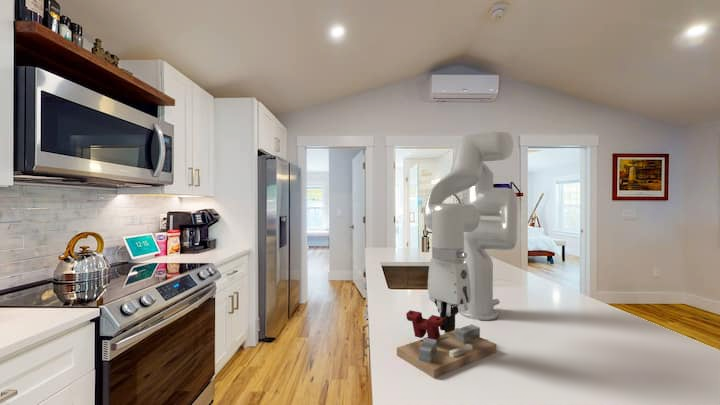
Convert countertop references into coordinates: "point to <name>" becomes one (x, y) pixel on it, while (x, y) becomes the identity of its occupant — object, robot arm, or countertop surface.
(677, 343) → the countertop surface
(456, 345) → the jig
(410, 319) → the bracket
